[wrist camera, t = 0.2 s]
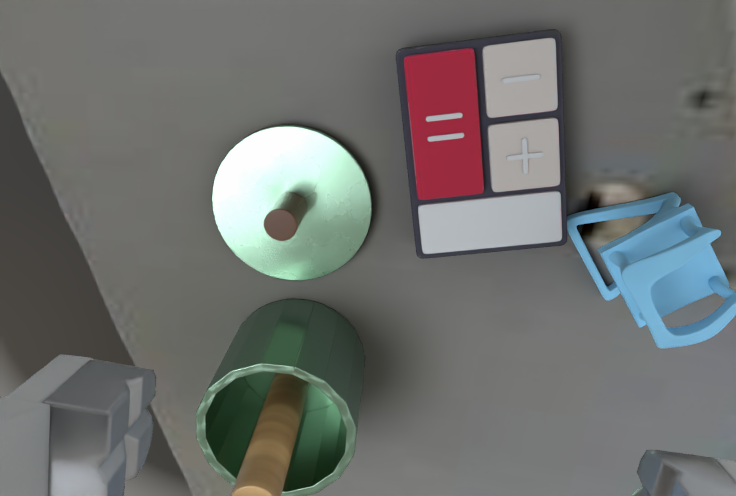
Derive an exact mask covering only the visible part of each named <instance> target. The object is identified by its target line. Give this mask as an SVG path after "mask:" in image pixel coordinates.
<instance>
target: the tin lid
mask: <svg viewBox="0 0 736 496" xmlns="http://www.w3.org/2000/svg"><path fill="white" fill-rule="evenodd" d="M212 208H213V214H214V218H215V221H216V224H217V227H218V230H219V232H220V234H221V236H222V238H223V239H224V241H225V242H226V244H227V245H228V247H229V248H230V249H231V250H232V251H233V253H234V254H235V255H236V256H237V257H238V258H240V259H241V260H242V261H243V262H244V263H246V264H247V265H248V266H250V267H251V268H253V269H255V270H257V271H259V272H261V273H263V274H265V275H268V276H271V277H274V278H278V279H284V280H296V281H299V280H310V279H314V278H319V277H322V276H324V275H327V274H329V273H331V272H333V271H335V270H337V269H338V268H340V267H341V266H343V265H344V264H345V263H347V262H348V261H349V260H350V259H351V258H352V257H353V256H354V255H355V253H356V252H357V251H358V250H359V248H360V247H361V245H362V243H363V242H364V239H365V237H366V235H367V233H368V229H369V226H370V221H371V215H372V197H371V191H370V187H369V183H368V180H367V178H366V175H365V173H364V171H363V169H362V167H361V166H360V164H359V162H358V161H357V160H356V158H355V157H354V156H353V154H352V153H351V152H350V151H349V150H348V149H347V148H346V147H345V146H343V145H342V144H341V143H340V142H338V141H337V140H336V139H334V138H332V137H331V136H329V135H327V134H325V133H323V132H321V131H318V130H316V129H312V128H309V127H305V126H298V125H278V126H272V127H268V128H264V129H261V130H259V131H256V132H254V133H252V134H250V135H249V136H247V137H245V138H244V139H243V140H241V141H240V142H239V143H237V144H236V145H235V146H234V147H233V148H232V149H231V150H230V151H229V152H228V154H227V155H226V156H225V158H224V159H223V161H222V163H221V164H220V166H219V168H218V171H217V173H216V176H215V179H214V184H213V189H212Z"/></svg>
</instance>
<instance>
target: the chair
mask: <svg viewBox="0 0 736 496" xmlns="http://www.w3.org/2000/svg"><path fill="white" fill-rule="evenodd" d="M680 203H681V198H680V197H679V196H678V195H677V194H676V193H674V192H671V193H667V194H663V195H660V196H656V197H652V198H648V199H644V200H639V201H634V202H629V203H624V204H618V205H613V206H608V207H602V208H597V209H592V210H587V211H582V212H578V213H575V214H571V215H569V216H567V232H568V233H569V235H570V237H571V239H572V241H573V243H574V244H575V246H576V248H577V250H578V252H579V254H580V256H581V257H582V259H583V261H584V263H585V265H586V267H587V268H588V270H589V272H590V274H591V276H592V278H593V280H594V281H595V283H596V285H597V287H598V289H599V291H600V292H601V294H602V296H603V298H604V299H605V300H611V299H613V298H615V297H616V296H618V295H619V294H621V295H622V297H623V299H624V301H625V303H626V305H627V307H628V308H629V310H630V312H631V314H632V316H633V318H634V320H635V322H636V323H637V325H638V326H639V327H642V326H645V325H647V326H648V328H649V330H650V332H651V334H652V336H653V338H654V341H655V343H656V345H657V346H658V347H659V348H671V347H679V346H686V345H691V344H695V343H699V342H702V341H705V340H707V339H709V338H711V337H713V336H714V335H716V334H717V333H718V332H720V331H721V330H722V329H723V328H724V327H725V326H726V325H727V324H728V323H729V322H730V321H731V319H732V318H733V317H734V316H735V315H736V292H735V291H733V290H732V289H730V288H729V287H728V286H730V284H729V282H728V280H727V278H726V276H725V274H724V271H723V269H722V267H721V265H720V263H719V261H718V259H717V257H716V255H715V253H714V251H713V249H712V247H711V244H710V243H711V242H713V241H714V240H716V239H717V238H718V237H719V236H720V235H721V231H720V230H718V229H712V228H707V227H703V226H702V224H701V222H700V220H699V218H698V215H697V213H696V211H695V209H694V207H693V206H692V205H690V204H689V203H687V204H685V205H683V206H681V207H679V205H680ZM654 213H656V214H655V215H654V216H653V217H652V218H651V219H650V220H649V221H647V222H646V223H645V224H643V225H642V226H640V227H638V228H637V229H635V230H633V231H632V232H630V233H628V234H627V235H625V236H623V237H621V238H618V239H616V240H614V241H612V242H610V243H608V244H606V245H604V246H602V247H600V248H598V249H597V250H598V251H599V253H600V255H601V257H602V259H603V261H604V263H605V265H606V267H607V268H608V270H609V272H610V274H611V276H612V278H613V280H614V282H613V283H612V284H611V285H610V286H606V285H605V283H604V281H603V279H602V277H601V275H600V273H599V271H598V270H597V268H596V266H595V264H594V262H593V260H592V258H591V256H590V254H589V252H588V250H587V248H586V246H585V244H584V242H583V240H582V238H581V236H580V234H579V232H578V230H577V225H580V224H586V223H593V222H600V221H607V220H614V219H621V218H628V217H635V216H641V215H648V214H654ZM713 293H717V294H718V295H720V296H722V297H724V298H725V299H727V300H726V302H725V303H724V304H723V305H722V306H721V307H720V308H718V309H717V310H716V311H715V312H714V313H712V314H711V315H710V316H708V317H707V318H705V319H703V320H701V321H699V322H697V323H694V324H691V325H687V326H682V327H666V326H665V325H664V323H663V322H662V320H661V317H663V316H665V315H667V314H669V313H671V312H673V311H675V310H677V309H679V308H681V307H683V306H685V305H687V304H690V303H692V302H694V301H696V300H699V299H701V298H703V297H706V296H708V295H711V294H713Z"/></svg>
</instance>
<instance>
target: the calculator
mask: <svg viewBox="0 0 736 496" xmlns="http://www.w3.org/2000/svg"><path fill="white" fill-rule="evenodd" d="M396 64H397V73H398V83H399V92H400V102H401V111H402V121H403V131H404V140H405V150H406V159H407V169H408V178H409V188H410V197H411V207H412V217H413V226H414V236H415V245H416V253H417V256H418V257H419V258H435V257H445V256H456V255H466V254H477V253H487V252H498V251H508V250H519V249H529V248H540V247H550V246H560V245H564V244H565V243H566V242H567V207H566V175H565V143H564V111H563V78H562V46H561V34H560V32H559V31H558V30H556V29H551V30H542V31H534V32H526V33H518V34H511V35H503V36H495V37H487V38H479V39H471V40H464V41H456V42H448V43H440V44H432V45H424V46H416V47H409V48H402V49H400V50H398V51H397V53H396Z"/></svg>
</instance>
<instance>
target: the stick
mask: <svg viewBox="0 0 736 496" xmlns="http://www.w3.org/2000/svg"><path fill="white" fill-rule="evenodd" d="M309 387H310V383H309V382H307V381H305V380H302V379H300V378H298V377H296V376H294V375H290V374H281V373H275V375H274V378H273V380H272V383H271V386H270V389H269V391H268V394H267V397H266V400H265V402H264V405H263V408H262V411H261V413H260V416H259V419H258V422H257V424H256V427H255V430H254V433H253V435H252V438H251V441H250V444H249V446H248V449H247V452H246V455H245V457H244V460H243V463H242V465H241V468H240V471H239V474H238V476H237V479H236V482H235V485H234V487H233V490H232V493H231V496H281V495H282V491H283V487H284V483H285V479H286V476H287V472H288V468H289V464H290V460H291V456H292V452H293V449H294V445H295V441H296V437H297V433H298V429H299V425H300V422H301V418H302V414H303V410H304V406H305V402H306V398H307V395H308V391H309Z"/></svg>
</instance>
